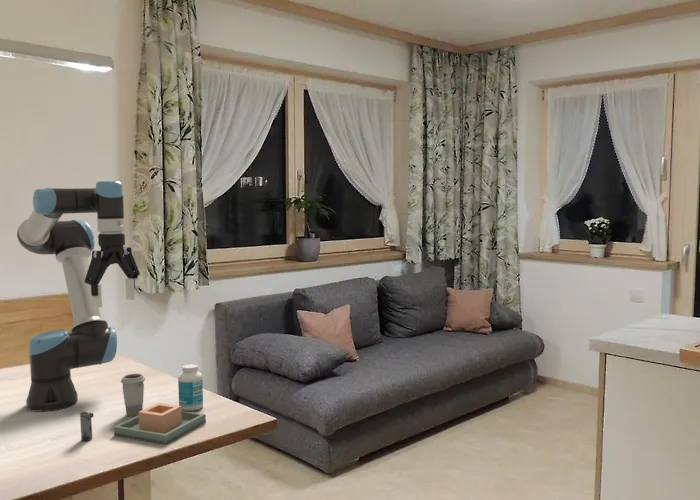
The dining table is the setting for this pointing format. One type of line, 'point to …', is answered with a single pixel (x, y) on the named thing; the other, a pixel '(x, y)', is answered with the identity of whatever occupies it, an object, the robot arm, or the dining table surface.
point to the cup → (133, 393)
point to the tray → (132, 431)
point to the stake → (86, 426)
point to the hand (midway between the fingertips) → (114, 303)
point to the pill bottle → (190, 388)
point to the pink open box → (160, 417)
